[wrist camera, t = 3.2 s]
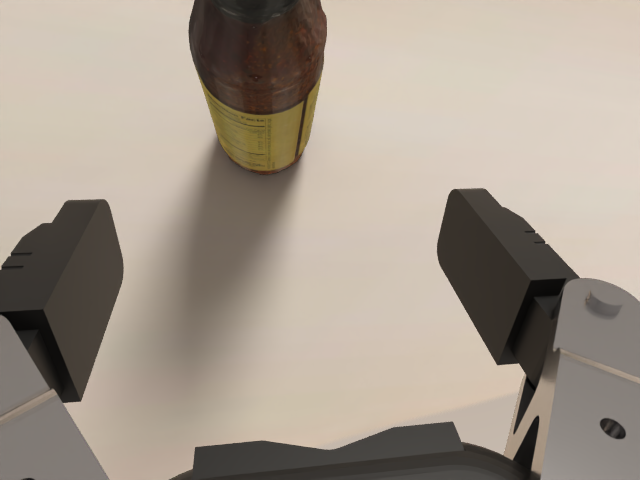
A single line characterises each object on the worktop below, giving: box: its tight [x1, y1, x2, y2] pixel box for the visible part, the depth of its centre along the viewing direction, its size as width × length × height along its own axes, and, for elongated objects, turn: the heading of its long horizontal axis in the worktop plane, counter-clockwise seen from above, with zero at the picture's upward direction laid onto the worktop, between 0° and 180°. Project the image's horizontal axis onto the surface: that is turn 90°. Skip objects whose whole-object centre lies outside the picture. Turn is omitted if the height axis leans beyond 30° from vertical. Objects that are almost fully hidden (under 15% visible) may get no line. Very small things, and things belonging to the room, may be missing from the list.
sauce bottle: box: [189, 0, 327, 175], centre depth 22 cm, size 6×6×20 cm
